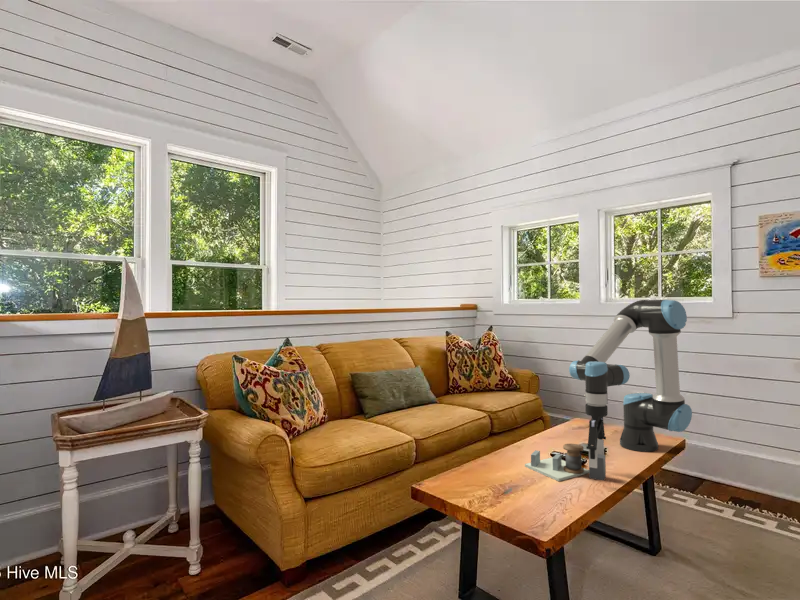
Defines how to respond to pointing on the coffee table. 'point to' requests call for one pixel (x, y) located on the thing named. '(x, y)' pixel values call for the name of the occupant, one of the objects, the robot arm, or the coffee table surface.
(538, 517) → the coffee table surface
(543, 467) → the board
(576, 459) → the bobbin
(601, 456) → the gray rectangular block
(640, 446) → the robot arm
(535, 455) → the notch
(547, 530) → the coffee table surface
